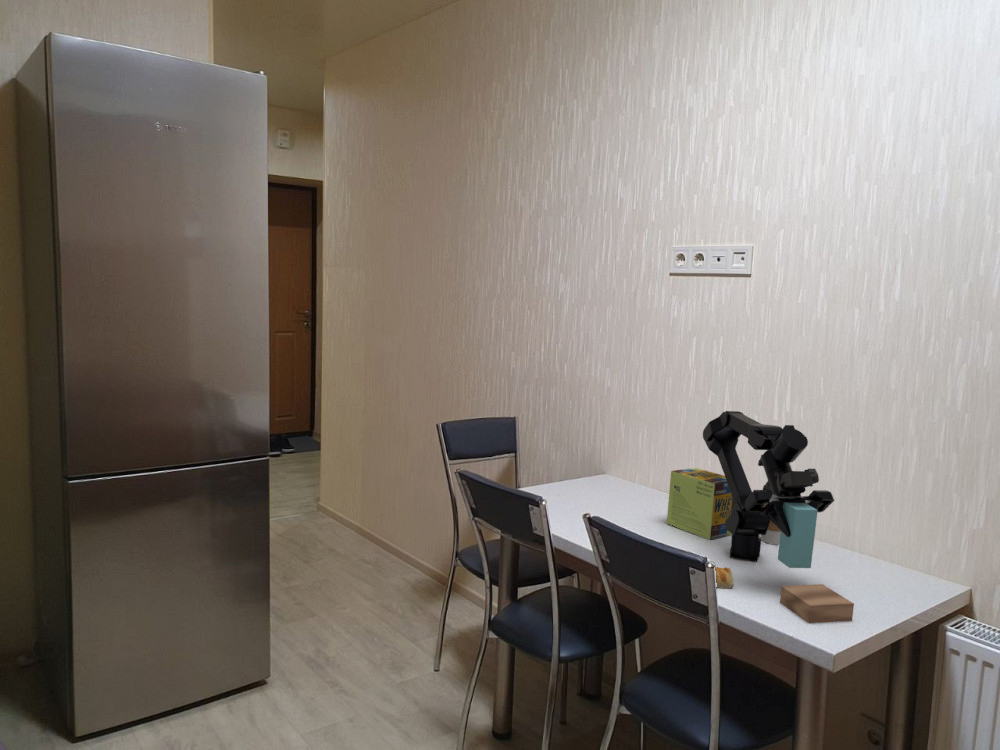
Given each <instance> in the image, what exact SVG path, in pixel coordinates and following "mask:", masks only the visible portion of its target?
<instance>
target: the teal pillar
mask: <svg viewBox="0 0 1000 750" xmlns="http://www.w3.org/2000/svg"><path fill="white" fill-rule="evenodd" d="M783 511H784V514H785V517H786V520H787V523H788V525H789V528H790V533H791V536H790V537H787V536H786V535H785V534H784V533H783V532H782V531H781V534H780V543H779V545H778V555H777V561H779V562H781V563H782V564H783V565H785V567H787V568H788V569H812V560H813V553H814V543H815V536H816V535H815V534H816V527H817V519H818V513H819V512H818V510H817V509H815V508H813V507H811V506H810V505H808V504H806V503H784V508H783Z"/></svg>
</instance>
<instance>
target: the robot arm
mask: <svg viewBox="0 0 1000 750" xmlns="http://www.w3.org/2000/svg"><path fill="white" fill-rule="evenodd" d="M741 435H742V436H743V437H745V438H746V439H747V444H748V445H749V446H750V447H751V448H752V449H753V450H755V451H764V453H763V454H761V455H760V459H758V463H757V465H758V467H763V469H764V473H765V476H766V478H767V482H765V484H766V486H767V487H770V488H771V491H772V493H771V491H769V490H763V489H752V488H751V485H750V484H749V480H748V478H747V475H746V473H745V471H744V468H743V467H744V466H743V465H742V462H741V459H740V458H739V457H740V456H739V454H738V451H737V445H738V442H739V438H740V436H741ZM702 439H703V441H704V442H705V444H706V446H707V448H708V450H709V451H711V452H712V453H713V454H714V455H715V456H716V457H718V461H719V464H720V466H721V468H722V471H723V474H724V476H725V478H726V480H727V483H728V486H729V489H730V491H731V494H732V497H733V500H734V503H733V506H732V509H731V515H730V516H729V517H728V518H727V520H726V521H725V523H726V530H728V531H729V532H730V533H732V535H731V541H730V548H729V558H730V559H736V560H744V561H750V562H758V559H759V558H760V557H761V545H762V539H761V538H760V535H766V532H767V529H768V526H769V523H770V520H771V521H772V522H773V523H774V524H775V525H776V526H777V527H778V528H779V529H780V530H781V531H782V532H783V533H784V534H785V535H786V536H787V537H790V536H791V533H790V528H789V525H788V523H787V520H786V517H785V514H784V511H783V505H784V503H806V504H808V505H810V506H811V507H813V508H815V509H817V510H818V512H817V513H823V512H824V511H825V510H826V509H827V508H829V507H830V505H832V504H833V503H834V502H835V499H834V498H835V497H834V496H833V493H832V492H831V491H829V490H823V489H822V490H817V489H815V490H812V492H811V493H809V495H806V496H805V495H803V496H802V495H801V494H804V493H805V492H806V491H807V489H806V488H807V487H813V486H814V485H815V484H818V483H819V480H820V478H819V477H820V476H819V474H818V472H817V470H816V468H807V469H804V470H802V471H801V470H793V469H792V466H791V463H794V462H795V461H796V460H797V458H798V457H799V456H800V455H801V453H803V452H804V450H805V449H806V448H807V446H808V444H809V440H808V437H807V436H806V435H805V434H804V433H803V432H801V431H800V430H798V429H796V428H795V425H792V424H785V425H784V426H783V428H782V427H781V426H779V425H775V424H774V425H772V424H763V423H761V422H758V421H757V420H755V419H753V418H751V417H749V416H748V415H745V414H744V413H743V412H741V411H736V410H725V411H723V412H722V413H721V414H720V415H719V416H718V417H717V416H716V418H713V419H711V420H710V421H709V422H708V423H707V424H706V426H705V427H704V429H703V430H702ZM772 494H773V495H772Z"/></svg>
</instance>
